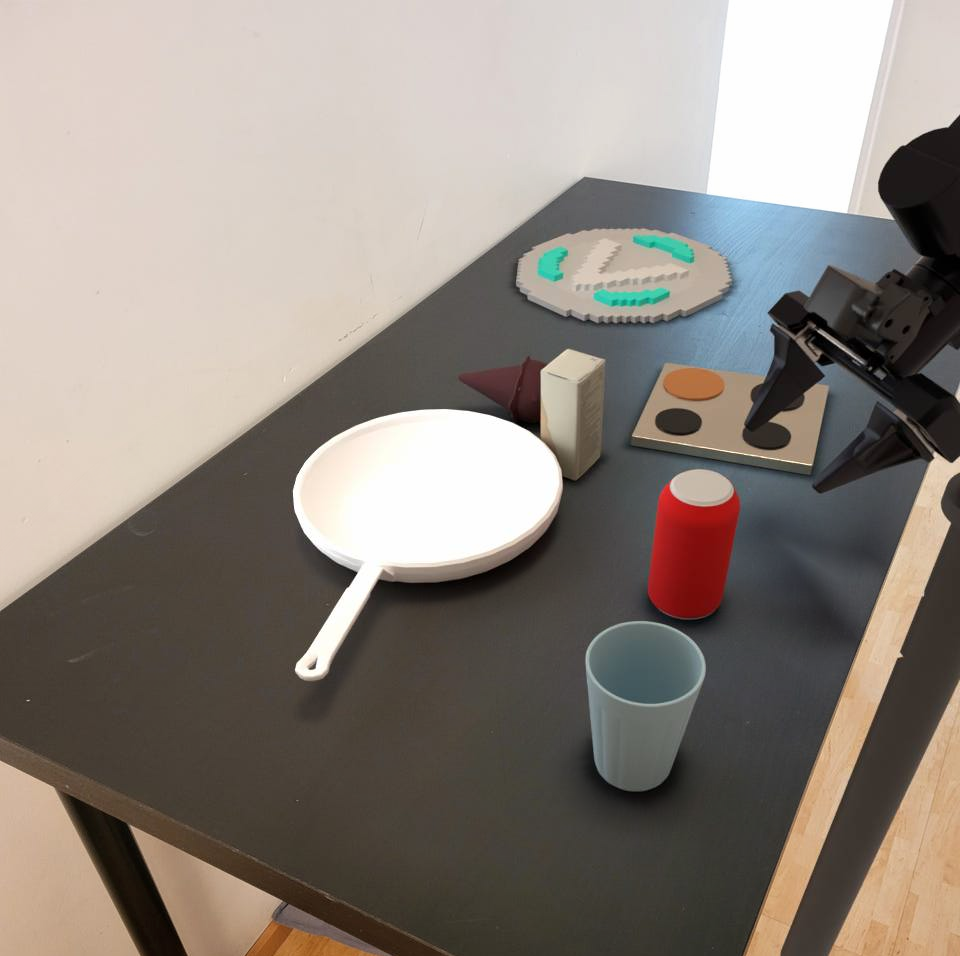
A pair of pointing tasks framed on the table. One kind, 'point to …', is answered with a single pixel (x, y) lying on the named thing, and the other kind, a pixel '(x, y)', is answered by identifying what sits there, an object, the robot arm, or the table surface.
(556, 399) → the box
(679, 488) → the beverage can
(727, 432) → the stove
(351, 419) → the table surface
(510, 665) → the table surface
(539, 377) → the icecream
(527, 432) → the pan
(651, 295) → the grey teal round disc
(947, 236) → the robot arm
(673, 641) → the cup
